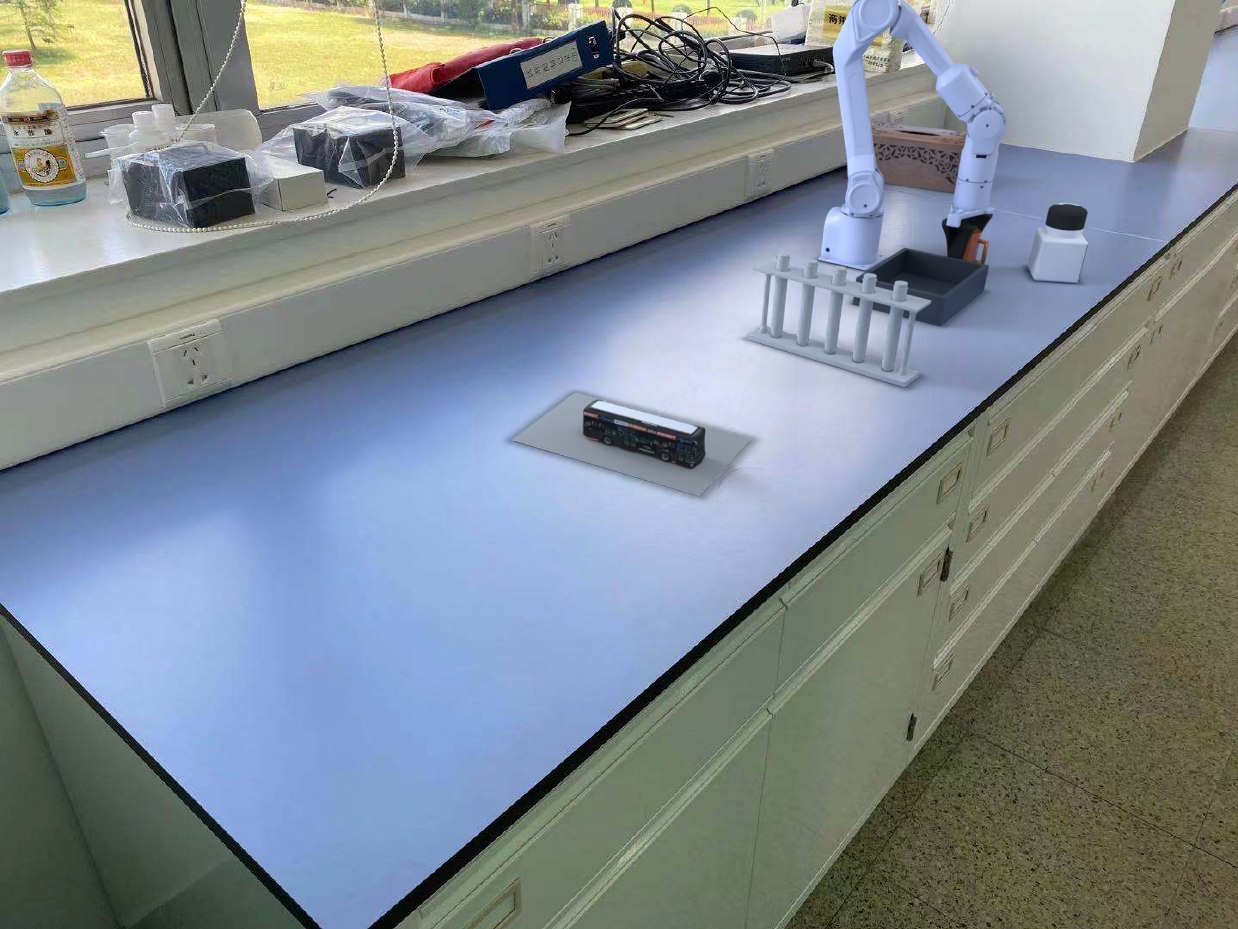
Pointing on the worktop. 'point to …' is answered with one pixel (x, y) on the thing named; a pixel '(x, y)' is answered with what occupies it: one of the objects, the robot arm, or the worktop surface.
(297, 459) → the worktop surface
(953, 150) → the tissue box cover
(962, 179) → the robot arm
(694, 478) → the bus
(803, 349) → the test tube rack
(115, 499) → the worktop surface
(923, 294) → the bin
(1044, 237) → the medicine bottle
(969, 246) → the cup
